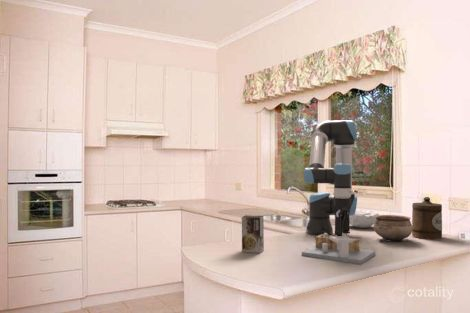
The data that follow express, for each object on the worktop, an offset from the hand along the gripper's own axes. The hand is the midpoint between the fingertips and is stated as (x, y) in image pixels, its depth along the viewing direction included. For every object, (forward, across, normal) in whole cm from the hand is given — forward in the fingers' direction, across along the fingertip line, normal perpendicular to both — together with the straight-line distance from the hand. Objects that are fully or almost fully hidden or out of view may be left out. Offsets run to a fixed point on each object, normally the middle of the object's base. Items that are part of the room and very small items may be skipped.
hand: (342, 248), depth 176 cm
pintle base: (+2, -5, 0) cm, 6 cm away
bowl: (+1, +74, +14) cm, 75 cm away
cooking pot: (+1, +43, -12) cm, 44 cm away
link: (0, 0, +2) cm, 2 cm away
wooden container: (+1, +64, -25) cm, 68 cm away
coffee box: (+2, -20, +35) cm, 41 cm away
